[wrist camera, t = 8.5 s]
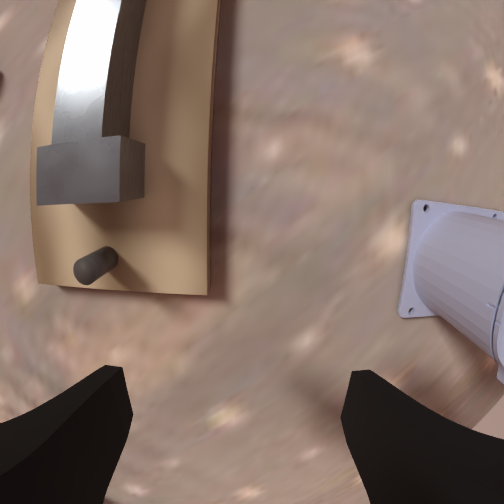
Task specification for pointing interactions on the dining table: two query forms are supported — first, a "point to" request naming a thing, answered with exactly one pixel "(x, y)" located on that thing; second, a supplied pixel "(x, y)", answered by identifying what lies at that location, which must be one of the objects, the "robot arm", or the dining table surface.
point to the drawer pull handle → (95, 110)
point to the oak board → (156, 164)
